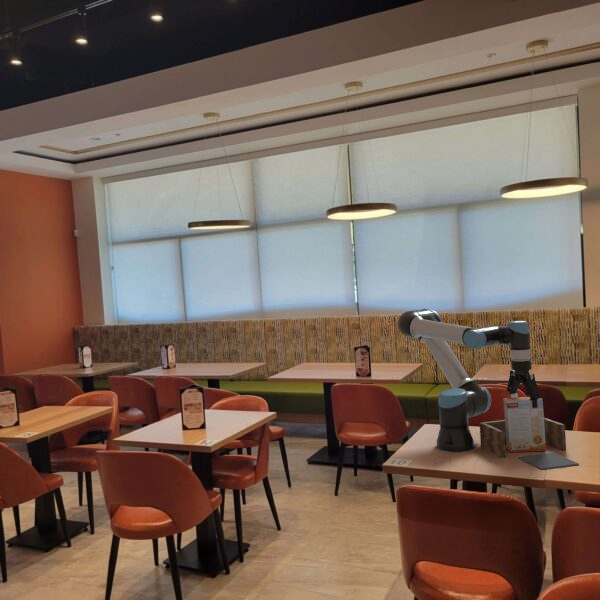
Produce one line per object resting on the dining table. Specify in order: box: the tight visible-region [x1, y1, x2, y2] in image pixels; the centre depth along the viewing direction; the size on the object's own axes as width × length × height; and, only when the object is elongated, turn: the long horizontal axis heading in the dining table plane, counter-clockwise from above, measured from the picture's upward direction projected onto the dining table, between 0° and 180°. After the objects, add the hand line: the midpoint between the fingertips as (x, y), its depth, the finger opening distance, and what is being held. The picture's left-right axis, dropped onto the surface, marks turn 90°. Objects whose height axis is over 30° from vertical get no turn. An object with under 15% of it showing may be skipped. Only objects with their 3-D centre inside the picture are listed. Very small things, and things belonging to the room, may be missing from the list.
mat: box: [517, 452, 580, 471], centre depth 214 cm, size 15×15×1 cm
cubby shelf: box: [479, 417, 567, 459], centre depth 232 cm, size 17×28×10 cm, turn 100°
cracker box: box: [503, 396, 547, 453], centre depth 230 cm, size 14×6×21 cm, turn 84°
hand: (524, 412), depth 229 cm, fingers open, 13 cm apart
